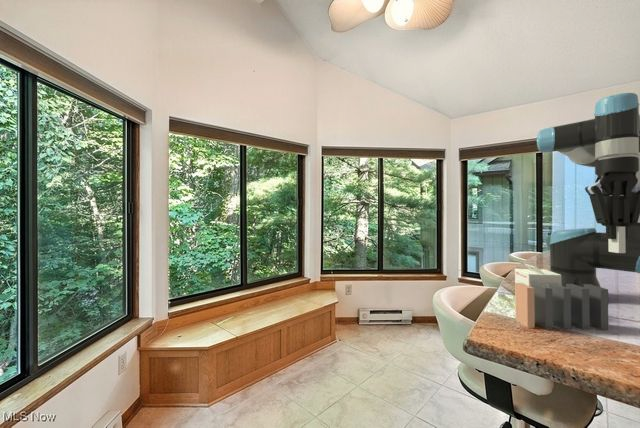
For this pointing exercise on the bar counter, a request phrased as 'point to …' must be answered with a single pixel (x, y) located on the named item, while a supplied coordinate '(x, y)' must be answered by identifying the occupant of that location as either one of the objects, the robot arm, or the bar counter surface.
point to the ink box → (536, 276)
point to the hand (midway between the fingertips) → (616, 252)
